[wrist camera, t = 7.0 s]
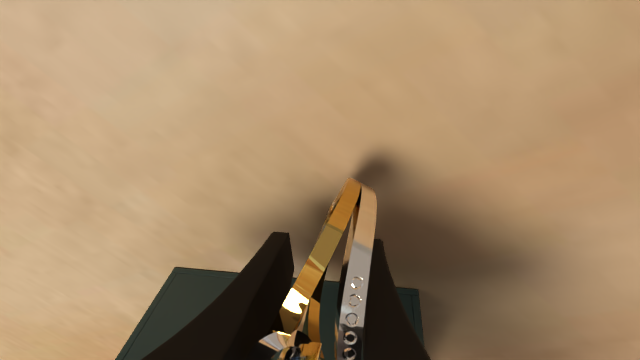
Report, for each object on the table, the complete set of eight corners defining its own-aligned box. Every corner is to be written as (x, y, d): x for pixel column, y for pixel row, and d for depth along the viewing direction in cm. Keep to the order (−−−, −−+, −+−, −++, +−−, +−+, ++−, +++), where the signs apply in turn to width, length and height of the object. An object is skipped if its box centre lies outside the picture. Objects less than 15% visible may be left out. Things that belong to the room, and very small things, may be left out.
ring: (342, 267, 17) (310, 467, 10) (284, 244, 16) (213, 431, 10) (411, 162, 12) (431, 382, 6) (334, 129, 12) (269, 321, 6)
